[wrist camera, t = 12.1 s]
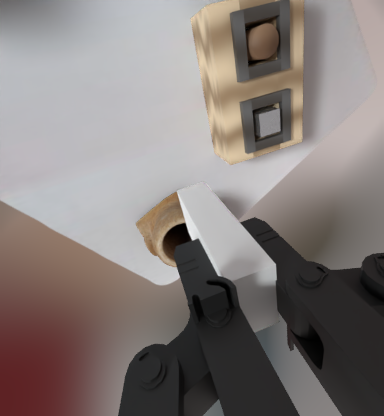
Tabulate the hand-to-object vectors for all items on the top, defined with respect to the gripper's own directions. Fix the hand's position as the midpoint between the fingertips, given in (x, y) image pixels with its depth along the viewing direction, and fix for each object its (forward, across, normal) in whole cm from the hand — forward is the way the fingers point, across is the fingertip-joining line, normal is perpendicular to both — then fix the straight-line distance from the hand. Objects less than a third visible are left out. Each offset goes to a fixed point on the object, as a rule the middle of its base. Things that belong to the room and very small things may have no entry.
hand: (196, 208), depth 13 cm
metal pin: (+34, +19, -4) cm, 39 cm away
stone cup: (+35, -1, -20) cm, 40 cm away
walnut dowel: (+34, +19, +6) cm, 39 cm away
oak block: (+34, +19, +1) cm, 39 cm away
